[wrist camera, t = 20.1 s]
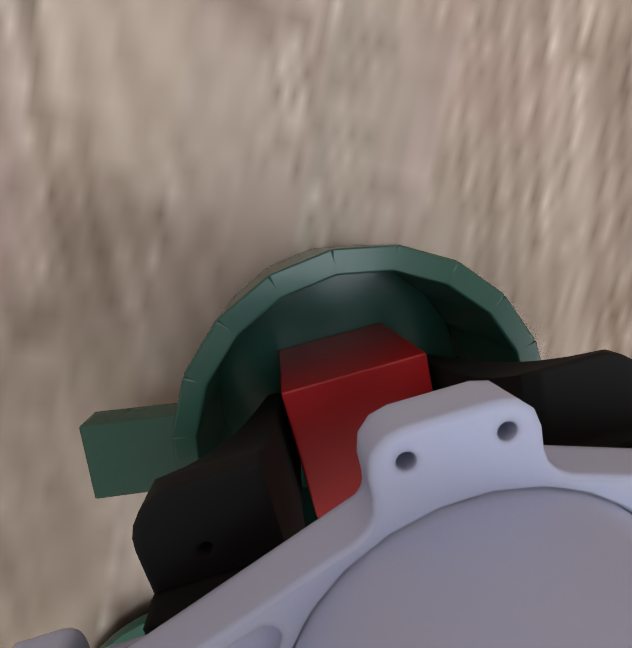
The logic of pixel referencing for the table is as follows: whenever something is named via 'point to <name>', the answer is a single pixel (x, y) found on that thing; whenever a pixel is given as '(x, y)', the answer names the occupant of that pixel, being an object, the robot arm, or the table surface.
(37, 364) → the table surface
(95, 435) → the pot
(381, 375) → the red block
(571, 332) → the table surface
